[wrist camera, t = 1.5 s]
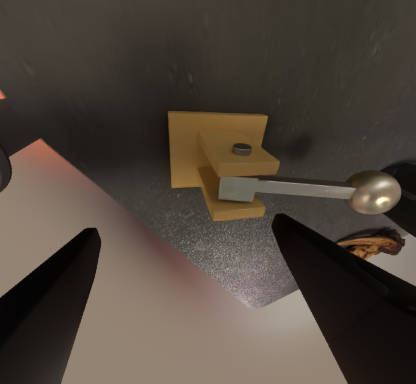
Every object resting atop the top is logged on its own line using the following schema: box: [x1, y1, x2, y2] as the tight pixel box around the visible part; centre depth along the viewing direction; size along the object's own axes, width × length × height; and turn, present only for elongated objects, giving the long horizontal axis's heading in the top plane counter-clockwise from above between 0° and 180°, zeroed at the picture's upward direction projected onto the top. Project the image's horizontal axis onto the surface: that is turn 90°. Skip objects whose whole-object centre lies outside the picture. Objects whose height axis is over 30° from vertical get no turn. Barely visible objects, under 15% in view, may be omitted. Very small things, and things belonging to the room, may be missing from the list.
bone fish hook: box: [336, 229, 405, 260], centre depth 38 cm, size 9×5×18 cm
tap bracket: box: [168, 111, 280, 221], centre depth 17 cm, size 10×8×9 cm
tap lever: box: [218, 170, 401, 214], centre depth 15 cm, size 14×4×4 cm, turn 86°
